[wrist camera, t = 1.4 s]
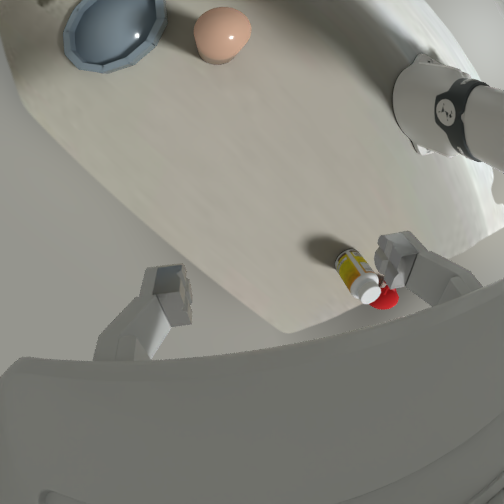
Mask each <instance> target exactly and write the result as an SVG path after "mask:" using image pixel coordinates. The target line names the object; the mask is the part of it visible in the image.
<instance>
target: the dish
mask: <svg viewBox="0 0 504 504" xmlns="http://www.w3.org/2000/svg"><path fill="white" fill-rule="evenodd" d="M167 24H168V20H167V10H166V1H165V0H83V1H81V2H80V3H79V4H78V5H77V6H76V7H75V9H74V10H73V12H72V14H71V16H70V18H69V20H68V22H67V24H66V27H65V29H64V31H63V32H64V33H63V40H64V52H65V55H66V56H67V57H68V59H69V60H70V61H71V62H72V63H73V64H74V65H75V66H76V67H77V68H78V69H79V70H86V71H93V72H99V73H112V72H115V71H118V70H120V69H124V68H127V67H130V66H133V65H135V64H136V63H137V62H138V61H139V60H141V59H142V58H143V57H144V56H145V55H146V54H148V53H149V52H150V51H151V50H152V49H154V48H155V46H157V44H158V42H159V40H160V37H161V35H162V33H163V31H164V29H165V28H166V26H167Z"/></svg>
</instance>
